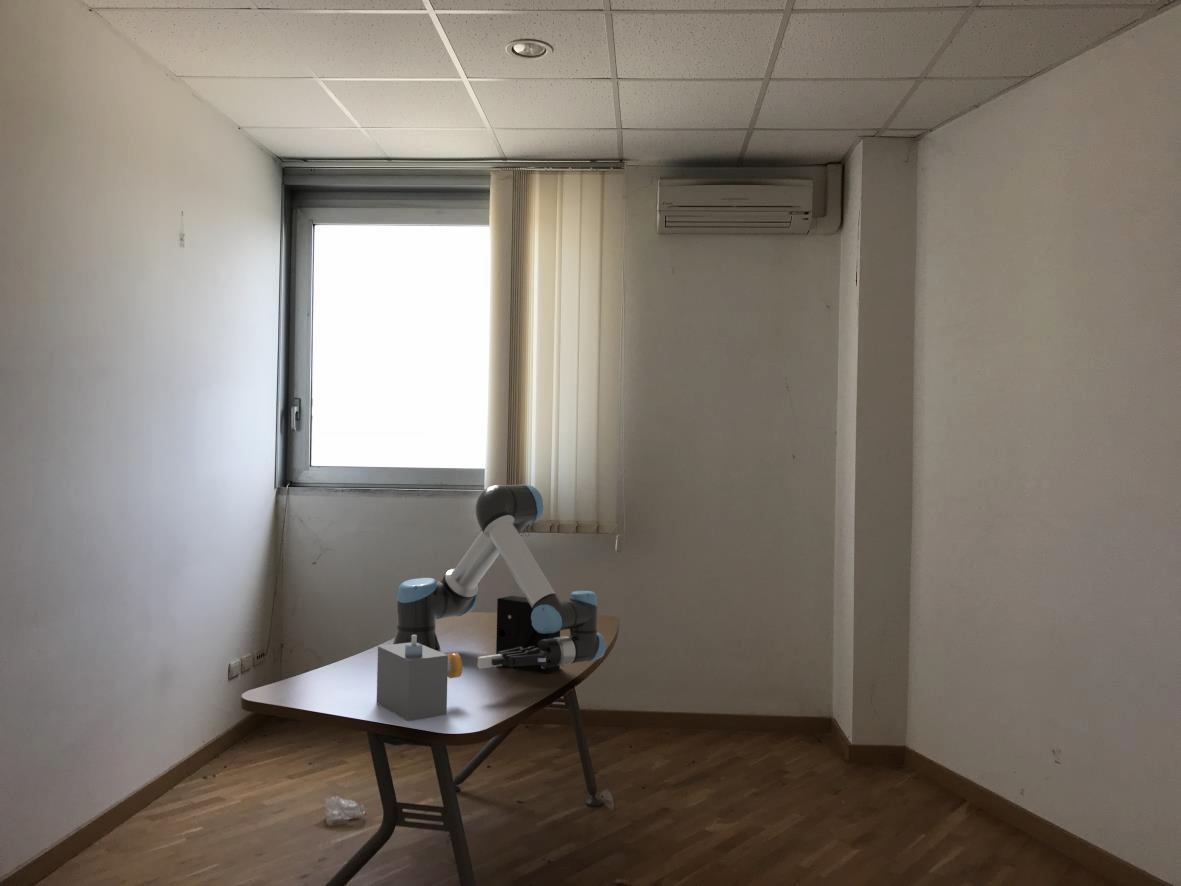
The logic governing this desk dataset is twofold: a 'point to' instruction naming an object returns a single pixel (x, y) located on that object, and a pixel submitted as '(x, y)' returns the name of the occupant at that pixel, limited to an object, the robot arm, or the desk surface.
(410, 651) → the knob
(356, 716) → the desk surface
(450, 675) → the knob
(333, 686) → the desk surface
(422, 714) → the housing
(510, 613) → the electrical component
